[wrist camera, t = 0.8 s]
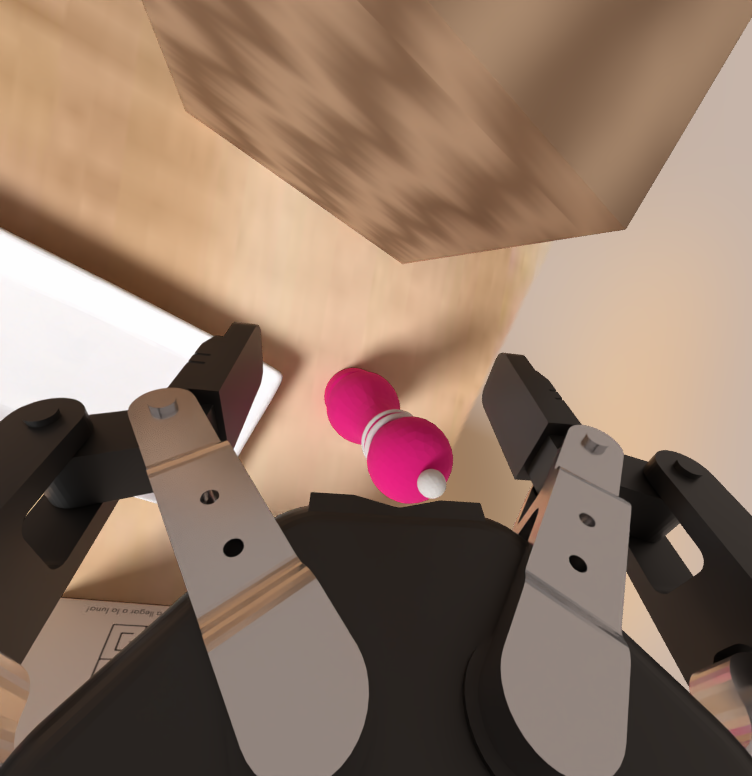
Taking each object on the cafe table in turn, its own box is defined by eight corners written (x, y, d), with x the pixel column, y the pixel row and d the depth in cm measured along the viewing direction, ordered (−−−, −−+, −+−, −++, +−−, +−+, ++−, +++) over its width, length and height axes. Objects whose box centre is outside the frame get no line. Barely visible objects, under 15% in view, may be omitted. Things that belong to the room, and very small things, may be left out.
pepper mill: (345, 350, 37) (434, 412, 19) (393, 385, 40) (510, 468, 22) (306, 404, 37) (356, 517, 19) (357, 435, 40) (442, 559, 22)
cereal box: (30, 656, 35) (-391, 1350, 12) (53, 595, 34) (-355, 1219, 11) (243, 661, 44) (231, 1068, 21) (266, 612, 43) (279, 983, 20)
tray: (207, 500, 37) (203, 520, 34) (-246, 362, 24) (-323, 374, 20) (284, 365, 35) (287, 373, 32) (-149, 141, 22) (-215, 118, 19)
